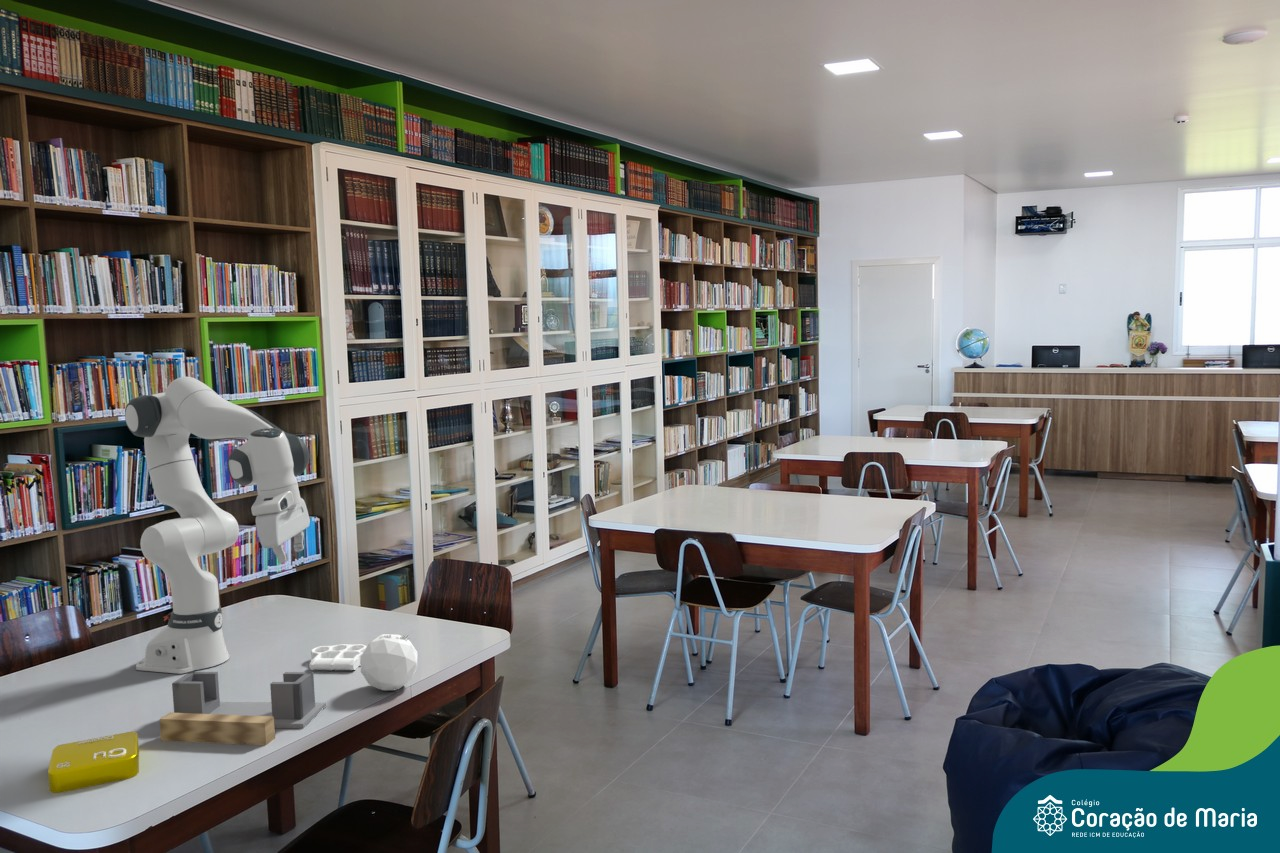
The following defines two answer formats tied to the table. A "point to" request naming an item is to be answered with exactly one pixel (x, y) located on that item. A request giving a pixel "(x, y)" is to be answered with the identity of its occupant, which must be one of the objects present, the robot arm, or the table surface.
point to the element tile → (93, 762)
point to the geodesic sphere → (389, 662)
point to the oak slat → (217, 728)
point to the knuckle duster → (336, 657)
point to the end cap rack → (287, 702)
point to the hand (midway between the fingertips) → (291, 556)
